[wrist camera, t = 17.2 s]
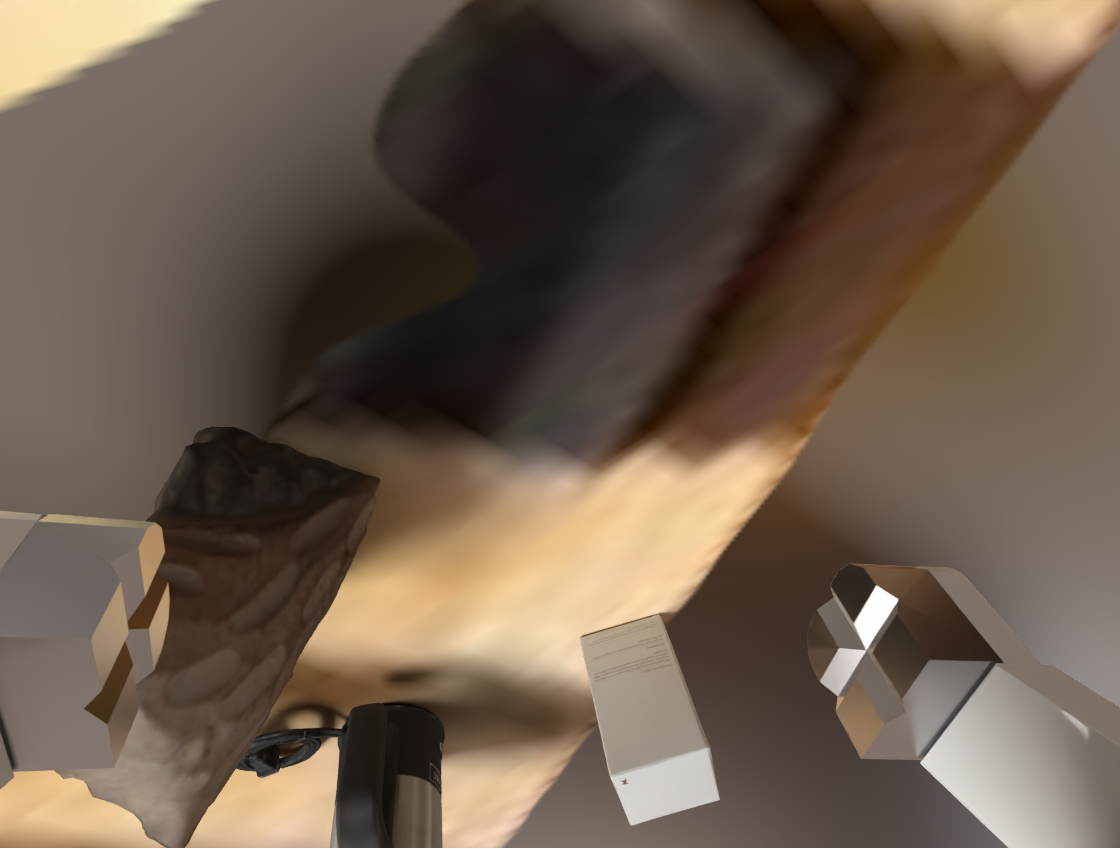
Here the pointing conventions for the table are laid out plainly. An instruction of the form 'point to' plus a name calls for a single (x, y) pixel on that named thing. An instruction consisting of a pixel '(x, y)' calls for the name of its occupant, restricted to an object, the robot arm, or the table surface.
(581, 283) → the table surface
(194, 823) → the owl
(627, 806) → the supplement box
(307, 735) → the milk frother
